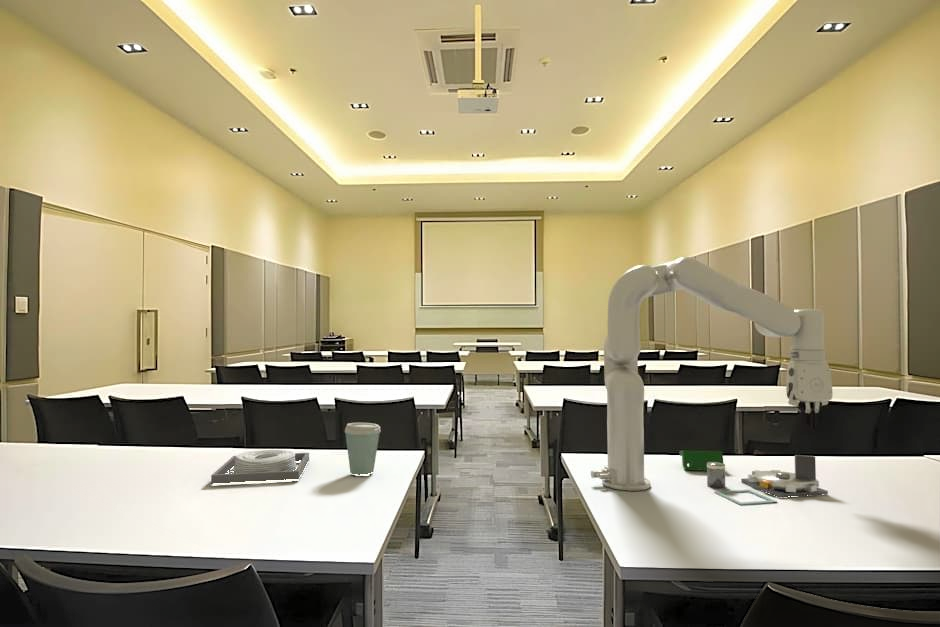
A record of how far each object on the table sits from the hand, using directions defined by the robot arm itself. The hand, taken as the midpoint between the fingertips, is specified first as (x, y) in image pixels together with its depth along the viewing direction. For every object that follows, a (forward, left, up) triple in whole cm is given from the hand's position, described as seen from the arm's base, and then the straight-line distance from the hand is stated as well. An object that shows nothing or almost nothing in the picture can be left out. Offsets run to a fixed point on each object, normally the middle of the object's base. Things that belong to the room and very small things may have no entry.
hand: (808, 427), depth 138 cm
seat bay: (-19, 0, -17) cm, 25 cm away
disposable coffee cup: (-114, +40, -17) cm, 122 cm away
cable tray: (-143, +47, -17) cm, 151 cm away
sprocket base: (-4, +5, -17) cm, 18 cm away
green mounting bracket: (-13, +27, -17) cm, 35 cm away
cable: (-143, +47, -17) cm, 151 cm away
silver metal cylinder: (-20, +10, -17) cm, 28 cm away
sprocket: (-4, +5, -15) cm, 17 cm away
